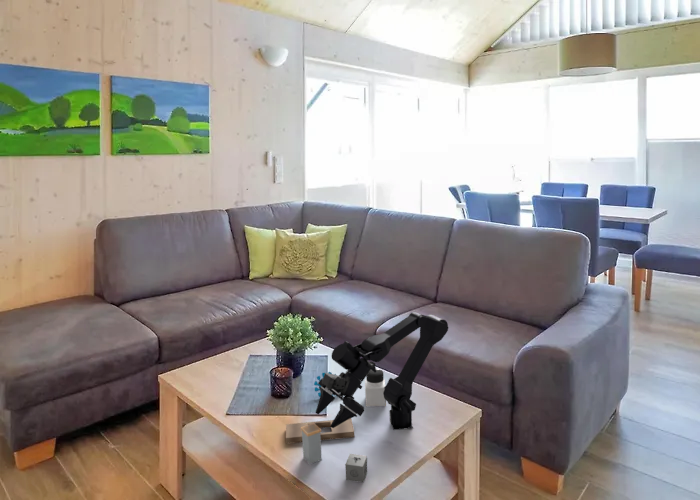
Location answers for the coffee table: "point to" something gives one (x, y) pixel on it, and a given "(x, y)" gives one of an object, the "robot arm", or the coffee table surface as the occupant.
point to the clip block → (311, 443)
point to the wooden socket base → (336, 433)
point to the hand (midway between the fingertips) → (324, 420)
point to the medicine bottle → (375, 388)
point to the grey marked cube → (356, 468)
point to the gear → (318, 384)
